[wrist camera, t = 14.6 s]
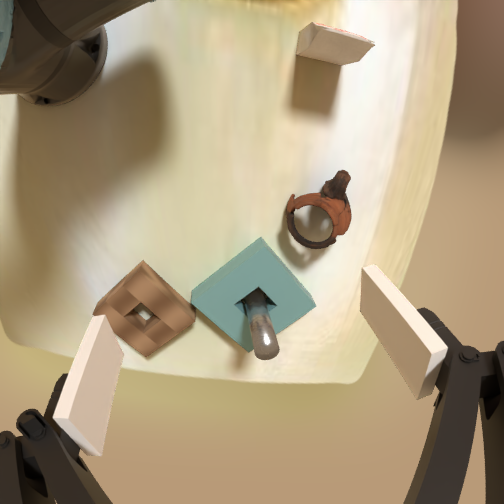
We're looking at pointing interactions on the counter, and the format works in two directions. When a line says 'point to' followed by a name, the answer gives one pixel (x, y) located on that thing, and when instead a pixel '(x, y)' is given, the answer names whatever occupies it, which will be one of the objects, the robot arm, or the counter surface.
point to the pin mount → (155, 299)
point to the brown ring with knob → (330, 204)
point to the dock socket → (245, 281)
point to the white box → (331, 44)
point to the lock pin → (261, 325)
